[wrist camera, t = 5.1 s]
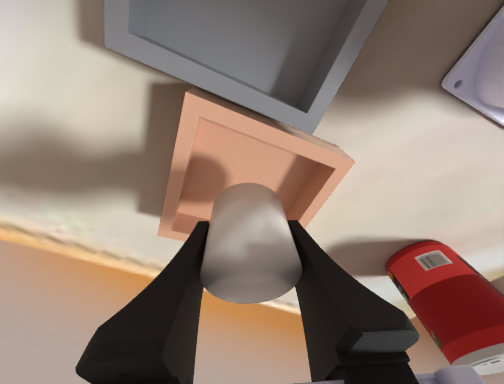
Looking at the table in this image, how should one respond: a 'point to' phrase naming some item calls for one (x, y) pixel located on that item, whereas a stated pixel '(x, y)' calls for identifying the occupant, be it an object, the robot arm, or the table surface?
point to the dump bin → (244, 162)
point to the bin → (249, 48)
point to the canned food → (452, 304)
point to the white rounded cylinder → (249, 247)
